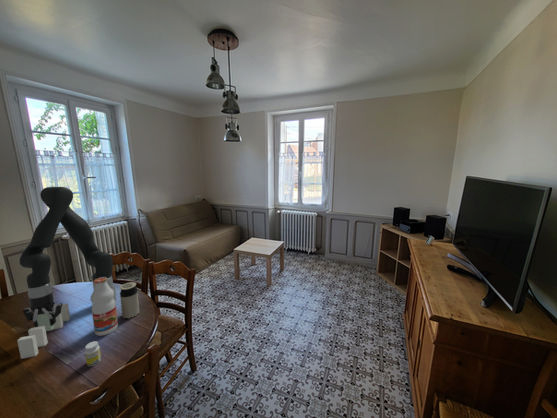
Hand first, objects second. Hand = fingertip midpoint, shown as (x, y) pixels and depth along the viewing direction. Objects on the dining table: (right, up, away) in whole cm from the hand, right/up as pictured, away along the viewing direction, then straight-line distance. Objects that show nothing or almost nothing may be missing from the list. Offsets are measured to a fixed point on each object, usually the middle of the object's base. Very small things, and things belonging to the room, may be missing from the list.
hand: (45, 325), depth 104 cm
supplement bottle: (+34, -9, -12) cm, 37 cm away
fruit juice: (+25, -6, +6) cm, 26 cm away
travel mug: (+29, -4, +18) cm, 35 cm away
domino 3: (+2, -7, -4) cm, 8 cm away
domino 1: (+4, -8, -10) cm, 13 cm away
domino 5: (-2, -5, +7) cm, 9 cm away
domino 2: (0, -2, 0) cm, 2 cm away
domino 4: (-4, -4, +12) cm, 14 cm away
